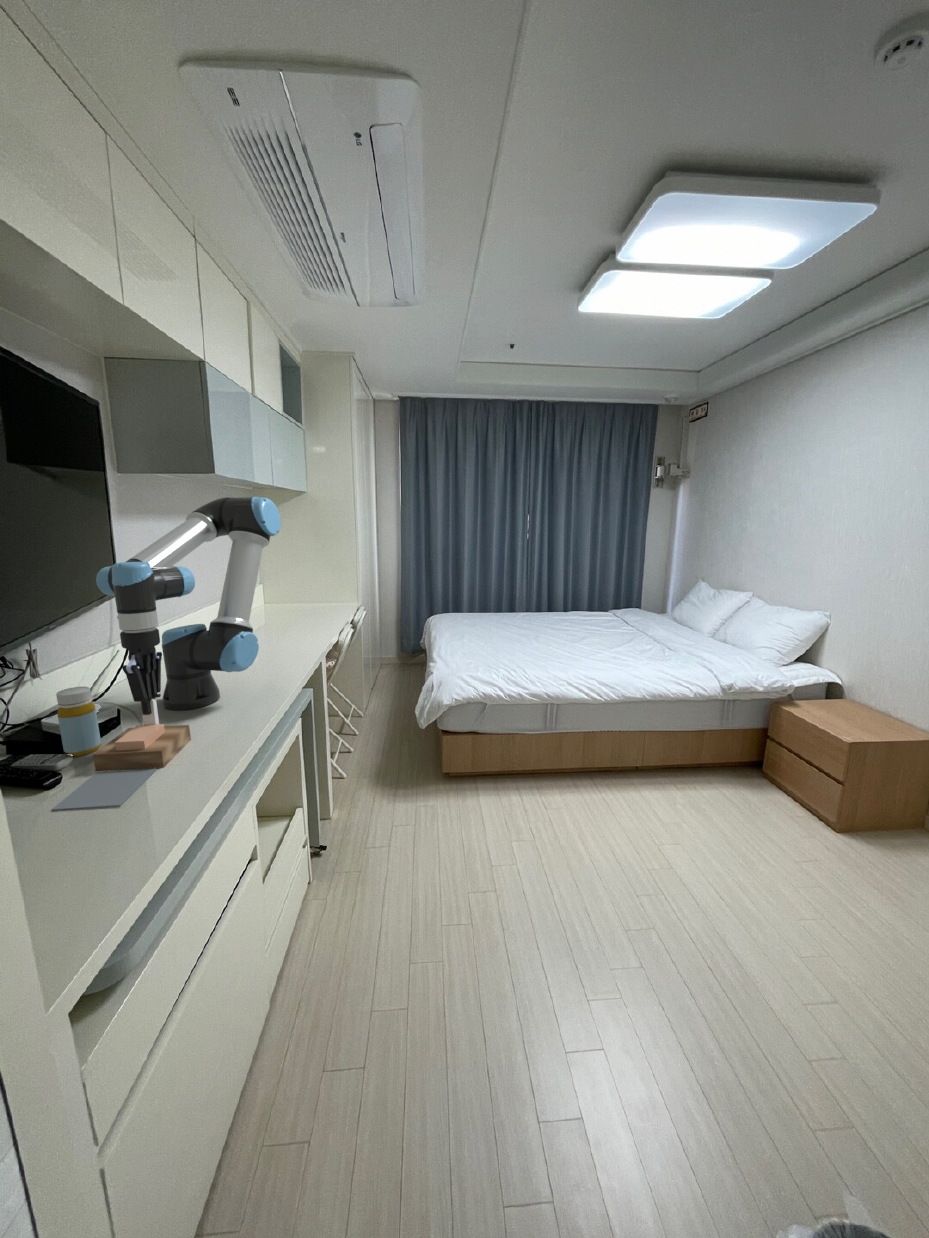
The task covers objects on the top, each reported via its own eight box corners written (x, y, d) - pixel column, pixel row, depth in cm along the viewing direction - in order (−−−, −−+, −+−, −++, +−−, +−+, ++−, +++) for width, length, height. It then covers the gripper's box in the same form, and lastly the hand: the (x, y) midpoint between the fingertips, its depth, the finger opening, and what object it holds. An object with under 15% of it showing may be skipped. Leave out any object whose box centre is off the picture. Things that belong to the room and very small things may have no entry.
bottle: (105, 742, 120) (96, 684, 117) (96, 754, 113) (86, 693, 110) (71, 746, 117) (60, 687, 114) (59, 759, 111) (48, 697, 108)
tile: (138, 733, 116) (137, 725, 115) (165, 731, 116) (163, 724, 116) (116, 750, 107) (114, 742, 106) (145, 749, 107) (143, 740, 107)
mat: (97, 773, 105) (97, 771, 105) (156, 770, 106) (156, 768, 106) (51, 811, 91) (51, 809, 91) (120, 806, 93) (120, 804, 93)
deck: (130, 742, 119) (128, 727, 119) (191, 739, 121) (189, 724, 120) (95, 771, 106) (92, 754, 105) (163, 767, 107) (161, 750, 107)
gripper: (137, 624, 118) (149, 715, 122) (104, 635, 105) (119, 737, 109) (170, 623, 119) (180, 714, 123) (141, 635, 106) (154, 736, 110)
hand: (151, 725), depth 116 cm, fingers closed
